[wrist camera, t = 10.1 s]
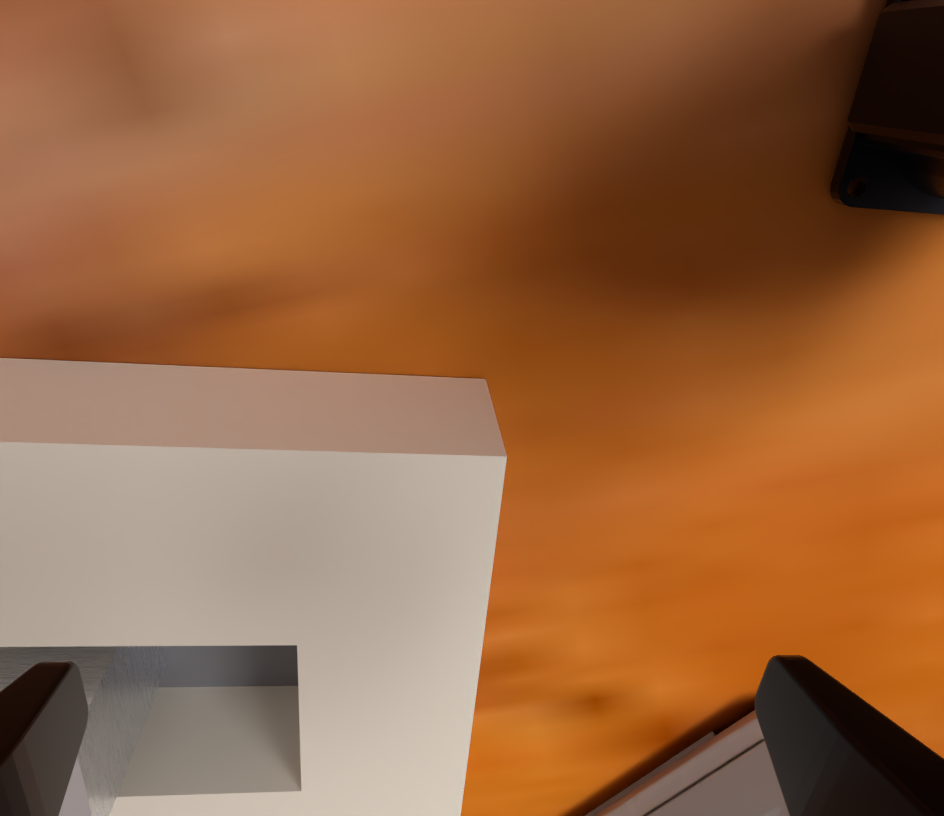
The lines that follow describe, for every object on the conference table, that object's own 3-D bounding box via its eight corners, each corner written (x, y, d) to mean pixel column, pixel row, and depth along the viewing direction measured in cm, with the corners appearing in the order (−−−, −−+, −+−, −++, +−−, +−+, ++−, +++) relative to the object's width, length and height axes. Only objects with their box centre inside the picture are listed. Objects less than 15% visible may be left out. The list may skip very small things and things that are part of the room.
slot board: (485, 378, 20) (506, 456, 16) (442, 778, 28) (449, 897, 24) (-457, 338, 17) (-713, 420, 13) (-210, 798, 25) (-324, 937, 21)
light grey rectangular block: (153, 572, 22) (73, 739, 16) (166, 665, 23) (98, 842, 18) (16, 572, 21) (-112, 744, 16) (41, 666, 23) (-67, 849, 18)
